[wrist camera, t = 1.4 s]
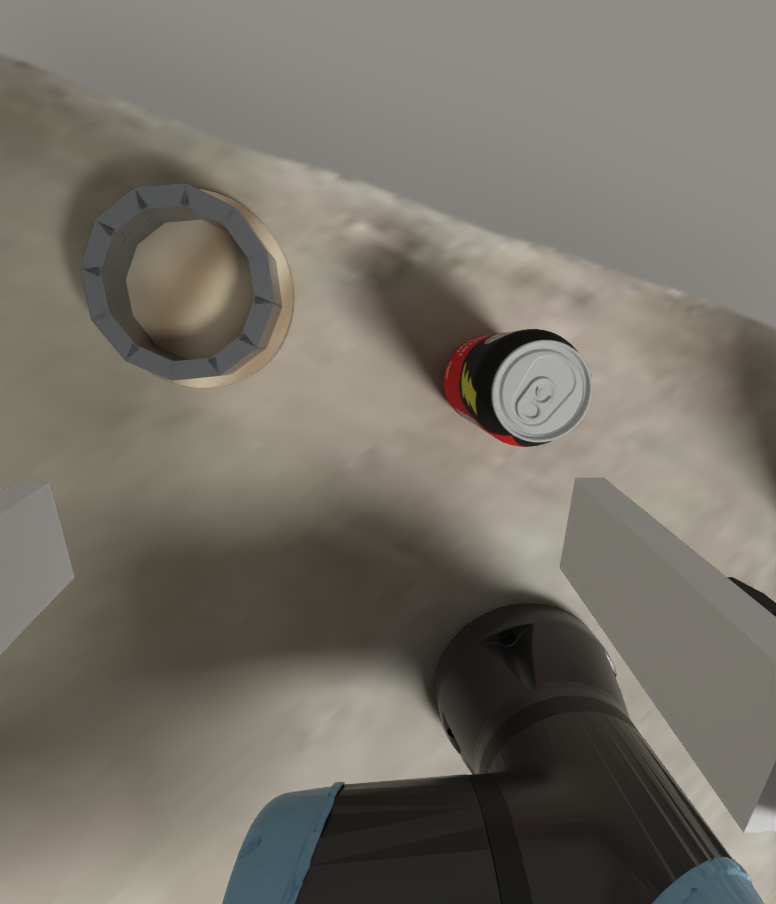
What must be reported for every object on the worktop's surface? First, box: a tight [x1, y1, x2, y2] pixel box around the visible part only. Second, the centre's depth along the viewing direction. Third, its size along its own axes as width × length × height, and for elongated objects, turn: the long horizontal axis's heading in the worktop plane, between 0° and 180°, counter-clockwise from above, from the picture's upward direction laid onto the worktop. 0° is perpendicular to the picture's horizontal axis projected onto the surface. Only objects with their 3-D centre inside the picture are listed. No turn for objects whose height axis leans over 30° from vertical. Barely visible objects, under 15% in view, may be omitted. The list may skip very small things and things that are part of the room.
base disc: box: [126, 189, 294, 388], centre depth 32 cm, size 13×13×1 cm
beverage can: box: [444, 329, 593, 447], centre depth 29 cm, size 6×6×12 cm
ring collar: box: [80, 183, 282, 381], centre depth 30 cm, size 11×11×3 cm
